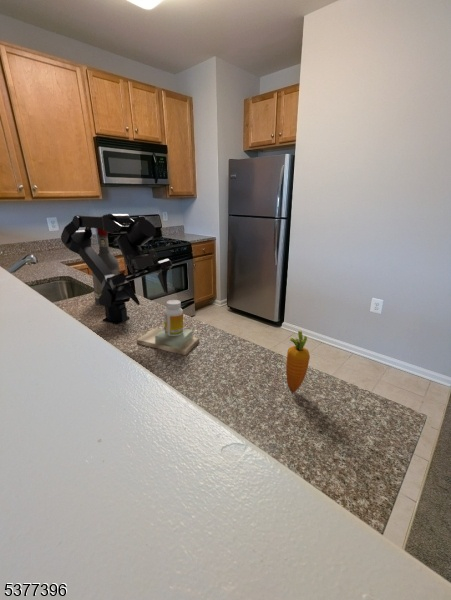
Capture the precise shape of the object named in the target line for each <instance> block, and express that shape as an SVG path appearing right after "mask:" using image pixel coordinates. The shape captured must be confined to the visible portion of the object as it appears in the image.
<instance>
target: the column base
mask: <svg viewBox="0 0 451 600" xmlns="http://www.w3.org/2000/svg"><path fill="white" fill-rule="evenodd" d="M193 332H194V331H193V329H188V328H184V327H183V333H182V334H181V335H179V336H168V335H166V334H165V328H164V329H160V328H157V327H155V328H153V329H151V330H149V331H148V332H146V333H144V334H143V335H141V336H140V337H139V338H137V339H136V344H138V345H141V346H147V347H150V348H154V349H159V350H162V351H166V352H169V353H170V352H172V353H175V354H178V355H179V354H180V355H183V356H186V355H187V354H188V353H189V352H190V351H191V350H193V348H194V347H196V345H198V343H200V337H195V336H194V335H193Z"/></svg>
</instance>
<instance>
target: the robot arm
mask: <svg viewBox="0 0 451 600" xmlns="http://www.w3.org/2000/svg"><path fill="white" fill-rule="evenodd" d="M80 228H84V229H80ZM97 228H100V229H104V231H106V232H108V234H113V235H114V234H120V235H119V236H114V239H113V241H112V246H114V247H115V246H118V247H119V250H120V252H121V254H122V256H123V259H124V262H125V264H126V265H127V268H128V269H129V273H128V274H125V273H124V272H122V273H119V274H118V275H114V274H113V273H112V272H111V271H110V269H109V268H108V267H107V266H106V264H105V263H104V262H103V261H102V259H101V258H100V257H99V256H98V254H99V253H97V252H96V250H95V249H94V247H92V236H93V231H92V229H97ZM156 234H157V229H156V227H155V225H154V224H152V222H151V221H150V220H148V219H147V218H146V217H145V216H144V215H138V216H137V217H136V218H135V219H132V218H131V216H130V215H129V214H128V213H107V214H103V215H102V216H99V215H97V216H95V215H88V214H76V215H74V216H73V217H72V219H71V221H70V222H69V223H68V224H66V226H64V227H63V229H62V232H61V235H60V240H61V242H62V244H64V247H66V248H67V249H68V250H69V251H70V252H73V253H75V254H77V255H79V257H80V258H81V259H82V260H83V262H84V264H86V265H87V267H88V268H89V270H90V271H91V273H92V272H93V273H94V275H95V276H96V277H97V279H98V280H99V281H100V282H101V284H102V286H101V291H102V295H101V296H100V297H99V303H100V305H102V307H104V311H105V318H103V319H102V321H103V322H105V323H111V324H113V325H114V324H115V325H119V324H121V323H122V322H125V321H127V320H128V319H130V316H129V315H128V309H127V306H126V303H127V302H130V299H131V300H132V301H133V302H134V303H135V304H136V305H137V306H140V305H141V303H140V301H139V299H138V297H137V295H136V293H135V292H134V290H133V287H132V285H131V283H130V281H133V280H136V279H140V278H142V277H145V276H147V275H148V276H149V275H151V274H154V273H157V278H158V281H159V283H160V285H161V287H162V290H163V293H164V294H165V295H168V293H169V290H168V273H169V272H170V270H171V268H172V267H173V266H174V264H173V262H172V261H171V260H170V259H169V258H165V259H161V260H159V255H158V254H157V252H156V249H154V248H153V249H149V250H147V253H146V254H145V252H144V250H142V248H141V246H143V245H145V244H146V243H147V242H149V241H150V240H152V239H153V238H154V237H155V236H156ZM157 260H159V261H157ZM155 261H156V263H154V262H155ZM100 305H99V306H100Z"/></svg>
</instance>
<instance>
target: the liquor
mask: <svg viewBox="0 0 451 600" xmlns="http://www.w3.org/2000/svg"><path fill="white" fill-rule="evenodd" d="M96 232H97V233H96V234H97V236H98V246H99V248H98V253H97V254H98V256H99V257H100V258H101V259H102V261H103V262H104V263H105V264H106V266H107V267H108V268H109V269H110V271H111V272H112V273H113V274H114V275H118V274H120V264H119V260H118V259H117V258H116V256H114V254H112V252H111V251H110V248H109V238H108V235H109V233H108V232H106V231H104V229H100V228H96ZM91 275H92V282H93V284H92V285H93V294H94V302H95V303H94V304H96V305H97V306H100V307H101V306H102V305H100V303H99V297H100V296H101V295H102V291H101V286H102V284H101V282H100V281H99V280H98V279H97V277H96V276H95V275H94V273H93V272H92V271H91ZM102 307H103V306H102Z"/></svg>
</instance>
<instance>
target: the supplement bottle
mask: <svg viewBox="0 0 451 600" xmlns="http://www.w3.org/2000/svg"><path fill="white" fill-rule="evenodd" d="M181 306H182V303H181V300H178V299H169V300H167V301H166V308H165V309H164V312H163V315H164V316H163V317H164V319H163V320H164V321H163V323H164V329H165V334H166V335H168V336H179V335H181V334H182V333H183V328H184V310H183V309H182V307H181Z"/></svg>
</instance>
